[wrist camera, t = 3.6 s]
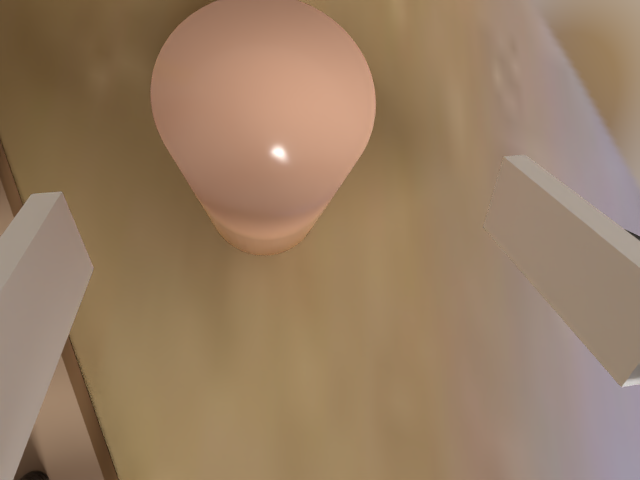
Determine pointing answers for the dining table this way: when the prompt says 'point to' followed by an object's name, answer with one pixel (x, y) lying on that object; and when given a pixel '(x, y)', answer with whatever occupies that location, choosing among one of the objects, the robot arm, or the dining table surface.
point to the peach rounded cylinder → (263, 115)
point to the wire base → (59, 399)
